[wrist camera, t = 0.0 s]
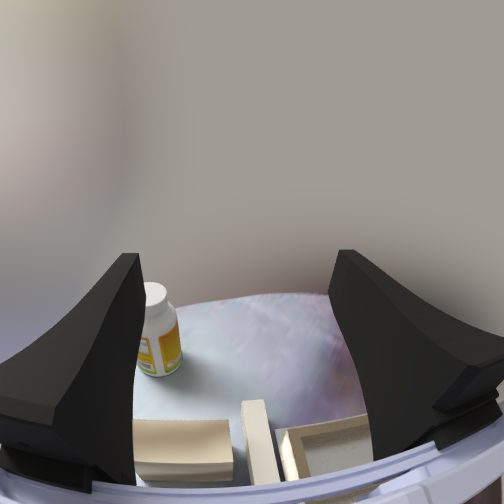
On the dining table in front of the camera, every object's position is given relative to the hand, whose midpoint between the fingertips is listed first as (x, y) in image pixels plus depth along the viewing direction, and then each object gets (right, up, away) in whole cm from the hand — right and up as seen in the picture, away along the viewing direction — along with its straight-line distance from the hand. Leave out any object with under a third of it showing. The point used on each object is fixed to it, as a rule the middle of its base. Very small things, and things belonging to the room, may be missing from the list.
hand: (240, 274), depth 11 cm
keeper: (+10, -19, +12) cm, 24 cm away
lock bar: (-5, -18, +12) cm, 22 cm away
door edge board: (+2, -20, +8) cm, 22 cm away
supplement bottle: (-10, -12, +23) cm, 27 cm away
